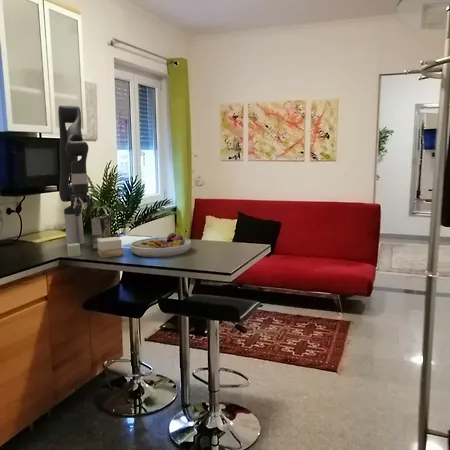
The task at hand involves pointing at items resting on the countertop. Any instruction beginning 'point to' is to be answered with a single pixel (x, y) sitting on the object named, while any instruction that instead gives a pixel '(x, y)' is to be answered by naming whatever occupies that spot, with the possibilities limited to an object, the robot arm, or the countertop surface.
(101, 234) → the coffee box
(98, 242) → the tower top
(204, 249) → the countertop surface
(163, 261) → the countertop surface
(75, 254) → the sage cube
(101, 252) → the tower base
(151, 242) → the bowl
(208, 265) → the countertop surface
